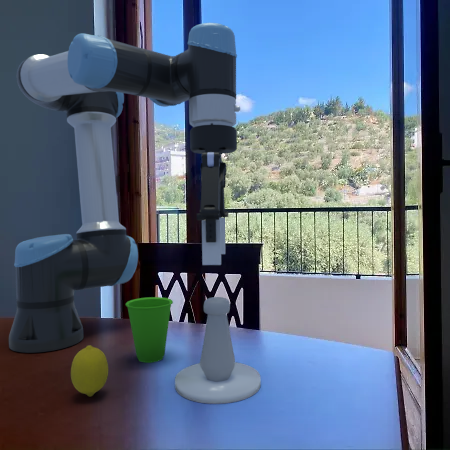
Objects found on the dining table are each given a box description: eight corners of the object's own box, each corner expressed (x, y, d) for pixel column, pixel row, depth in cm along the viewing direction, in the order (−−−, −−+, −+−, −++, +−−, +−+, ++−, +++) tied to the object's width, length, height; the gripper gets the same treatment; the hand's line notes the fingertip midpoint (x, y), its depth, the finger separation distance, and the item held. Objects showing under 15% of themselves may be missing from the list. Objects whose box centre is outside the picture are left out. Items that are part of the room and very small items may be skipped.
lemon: (88, 407, 61) (86, 354, 61) (63, 399, 64) (62, 347, 64) (116, 393, 66) (115, 343, 65) (92, 385, 69) (91, 337, 68)
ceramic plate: (159, 381, 70) (159, 374, 70) (225, 361, 78) (225, 355, 78) (207, 413, 59) (207, 404, 59) (278, 386, 67) (278, 379, 67)
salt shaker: (192, 377, 68) (191, 298, 68) (217, 367, 73) (215, 293, 72) (218, 387, 64) (217, 304, 64) (242, 376, 69) (241, 297, 68)
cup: (165, 368, 76) (163, 308, 75) (118, 365, 78) (117, 306, 77) (180, 351, 85) (178, 297, 84) (138, 349, 86) (136, 296, 86)
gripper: (234, 108, 54) (236, 270, 55) (237, 139, 79) (239, 250, 80) (177, 109, 55) (180, 270, 56) (198, 140, 79) (200, 250, 80)
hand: (215, 259), depth 68 cm, fingers open, 13 cm apart
